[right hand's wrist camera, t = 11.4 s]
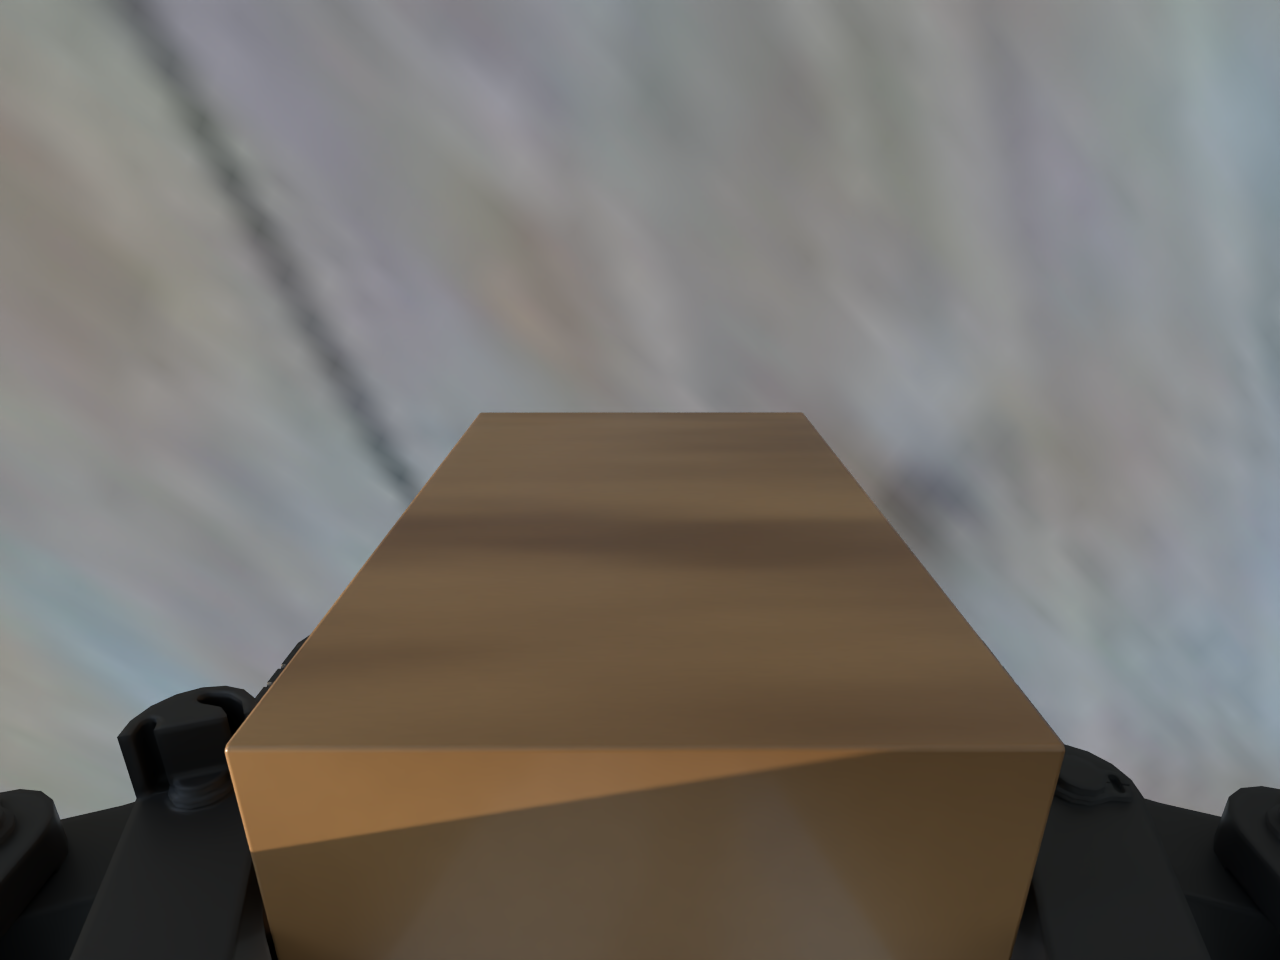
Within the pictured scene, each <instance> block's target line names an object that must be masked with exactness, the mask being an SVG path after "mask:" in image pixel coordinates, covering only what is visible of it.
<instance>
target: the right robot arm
mask: <svg viewBox="0 0 1280 960" xmlns="http://www.w3.org/2000/svg"><path fill="white" fill-rule="evenodd" d="M309 636H310V635H309ZM309 636H308V637H309ZM308 637H306V638H305V639H303V640H302V641H300V642H299V643H298V644H297V645H296V646H295V648H294V649H293V650H292V652H291V653H290V654H289V655H288V657H287V658H286V659H285V661H284V662H283V663H282V664H281V669H278V670H277V671H276V672H275V673H274V675H273V676H272V677H271V678H270V680H269V681H268V682H267V687H263V689H262V690H261V691H260V693H259V694H258V695H257V696H256V698H254V697H253V696H251V695H250V694H249V693H248V692H246V691H245V690H244V689H239V688H234V687H229V686H217V687H203V688H199V689H195V690H191V691H188V692H184V693H180V694H176V695H174V696H172V697H170V698H168V699H165V700H163V701H161V702H159V703H157V704H155V705H152V706H151V707H149V708H148V709H146V710H145V711H144V712H142V713H141V714H139V715H138V716H137V717H135V718H134V719H132V720H131V721H130V722H129V723H128V724H127V726H126V727H125V728H124V729H123V731H122V732H121V733H120V734H119V736H118V737H117V738H118V741H119V745H120V748H121V751H122V754H123V757H124V760H125V763H126V766H127V770H128V773H129V776H130V779H131V782H132V785H133V788H134V791H135V795H136V798H137V799H136V801H135V802H133V803H130V804H126V805H123V806H119V807H114V808H110V809H105V810H101V811H97V812H92V813H88V814H83V815H79V816H75V817H70V818H66V819H62V820H60V818H59V815H58V812H57V810H56V807H55V804H54V802H53V800H52V799H51V798H50V797H48V796H47V795H46V794H44V793H43V792H42V791H34V790H24V789H18V790H13V791H7V792H1V793H0V960H278V958H277V954H276V950H275V946H274V942H273V939H272V935H271V931H270V927H269V923H268V919H267V915H266V911H265V907H264V903H263V900H262V896H261V892H260V888H259V884H258V880H257V876H256V872H255V868H254V865H253V861H252V857H251V853H250V849H249V845H248V841H247V837H246V833H245V830H244V826H243V822H242V818H241V814H240V810H239V806H238V802H237V798H236V794H235V791H234V787H233V783H232V779H231V775H230V771H229V767H228V763H227V759H226V756H225V747H226V744H227V743H228V742H229V740H230V739H231V738H232V737H233V735H234V734H235V733H236V731H237V730H238V729H239V727H240V726H241V725H242V723H243V722H244V721H245V720H246V718H247V717H248V716H249V714H250V713H251V712H252V710H253V709H254V708H255V706H256V705H257V704H258V703H259V701H260V700H261V699H262V697H263V696H264V695H265V693H266V692H267V691H268V689H269V688H270V687H271V686H272V684H273V683H274V682H275V680H276V679H277V678H278V676H279V675H280V674H281V673H282V671H283V670H284V669H285V667H286V666H287V665H288V663H289V662H290V661H291V659H292V658H293V657H294V656H295V654H296V653H297V652H298V650H299V649H300V648H301V646H302V645H303V644H304V642H305V641H306V640H307V639H308ZM984 644H985V643H984ZM985 645H986V644H985ZM988 649H989V648H988ZM989 650H990V649H989ZM992 654H993V653H992ZM993 655H994V654H993ZM995 658H996V657H995ZM996 659H997V658H996ZM999 663H1000V662H999ZM1003 668H1004V667H1003ZM1004 669H1005V668H1004ZM1007 673H1008V672H1007ZM1010 677H1011V676H1010ZM1011 678H1012V677H1011ZM1018 687H1019V686H1018ZM1021 691H1022V690H1021ZM1022 692H1023V691H1022ZM1025 696H1026V695H1025ZM1026 697H1027V696H1026ZM1029 701H1030V700H1029ZM1033 706H1034V705H1033ZM1036 710H1037V709H1036ZM1037 711H1038V710H1037ZM1040 715H1041V714H1040ZM1044 720H1045V719H1044ZM1047 724H1048V723H1047ZM1048 725H1049V724H1048ZM1051 729H1052V728H1051ZM1055 734H1056V733H1055ZM1059 739H1060V738H1059ZM1062 743H1063V742H1062ZM1064 747H1065V754H1064V758H1063V762H1062V766H1061V770H1060V773H1059V777H1058V781H1057V785H1056V789H1055V793H1054V796H1053V800H1052V804H1051V808H1050V812H1049V815H1048V819H1047V823H1046V827H1045V831H1044V834H1043V838H1042V842H1041V846H1040V850H1039V853H1038V857H1037V861H1036V865H1035V869H1034V872H1033V876H1032V880H1031V884H1030V888H1029V892H1028V895H1027V899H1026V903H1025V907H1024V911H1023V914H1022V918H1021V922H1020V926H1019V930H1018V933H1017V937H1016V941H1015V945H1014V949H1013V952H1012V956H1011V960H1280V789H1275V788H1269V787H1264V786H1258V787H1248V788H1240V789H1239V790H1238V791H1236V792H1235V793H1234V794H1232V795H1231V796H1229V798H1228V801H1227V803H1226V806H1225V809H1224V811H1223V814H1222V817H1219V816H1215V815H1211V814H1206V813H1202V812H1197V811H1193V810H1189V809H1184V808H1180V807H1175V806H1171V805H1166V804H1162V803H1158V802H1155V801H1151V800H1148V799H1144V797H1143V796H1142V795H1141V793H1140V792H1139V790H1138V789H1137V787H1136V786H1135V784H1134V783H1133V781H1132V780H1131V779H1130V778H1128V777H1127V776H1126V775H1125V774H1123V773H1122V772H1121V771H1120V770H1119V769H1117V768H1116V767H1115V766H1114V765H1112V764H1111V763H1109V762H1107V761H1105V760H1103V759H1101V758H1099V757H1097V756H1095V755H1094V754H1092V753H1090V752H1088V751H1084V750H1081V749H1078V748H1074V747H1071V746H1068V745H1065V744H1064Z"/></svg>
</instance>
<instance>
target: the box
mask: <svg viewBox="0 0 1280 960" xmlns="http://www.w3.org/2000/svg"><path fill="white" fill-rule="evenodd" d="M1064 754H1065V747H1064V744H1063V743H1062V741H1061V740H1060V739H1059V737H1058V736H1057V735H1056V734H1055V732H1054V731H1053V730H1052V729H1051V727H1050V726H1049V725H1048V724H1047V722H1046V721H1045V720H1044V718H1043V717H1042V716H1041V715H1040V713H1039V712H1038V711H1037V710H1036V708H1035V707H1034V706H1033V704H1032V703H1031V702H1030V701H1029V699H1028V698H1027V697H1026V696H1025V694H1024V693H1023V692H1022V691H1021V689H1020V688H1019V687H1018V685H1017V684H1016V683H1015V682H1014V680H1013V679H1012V678H1011V677H1010V675H1009V674H1008V673H1007V671H1006V670H1005V669H1004V668H1003V666H1002V665H1001V664H1000V663H999V661H998V660H997V659H996V658H995V656H994V655H993V654H992V652H991V651H990V650H989V649H988V647H987V646H986V645H985V644H984V642H983V641H982V640H981V638H980V637H979V636H978V635H977V633H976V632H975V631H974V630H973V628H972V627H971V626H970V625H969V623H968V622H967V621H966V619H965V618H964V617H963V616H962V614H961V613H960V612H959V611H958V609H957V608H956V607H955V605H954V604H953V603H952V602H951V600H950V599H949V598H948V597H947V595H946V594H945V593H944V592H943V590H942V589H941V588H940V586H939V585H938V584H937V583H936V581H935V580H934V579H933V578H932V576H931V575H930V574H929V572H928V571H927V570H926V569H925V567H924V566H923V565H922V564H921V562H920V561H919V560H918V558H917V557H916V556H915V555H914V553H913V552H912V551H911V550H910V548H909V547H908V546H907V545H906V543H905V542H904V541H903V539H902V538H901V537H900V536H899V534H898V533H897V532H896V531H895V529H894V528H893V527H892V525H891V524H890V523H889V522H888V520H887V519H886V518H885V517H884V515H883V514H882V513H881V512H880V510H879V509H878V508H877V506H876V505H875V504H874V503H873V501H872V500H871V499H870V498H869V496H868V495H867V494H866V492H865V491H864V490H863V489H862V487H861V486H860V485H859V484H858V482H857V481H856V480H855V479H854V477H853V476H852V475H851V473H850V472H849V471H848V470H847V468H846V467H845V466H844V465H843V463H842V462H841V461H840V459H839V458H838V457H837V456H836V454H835V453H834V452H833V451H832V449H831V448H830V447H829V446H828V444H827V443H826V442H825V440H824V439H823V438H822V437H821V435H820V434H819V433H818V432H817V430H816V429H815V428H814V426H813V425H812V424H811V423H810V421H809V420H808V419H807V418H806V416H805V415H804V414H803V413H480V414H479V415H478V416H477V418H476V419H475V420H474V422H473V423H472V424H471V426H470V427H469V428H468V429H467V431H466V432H465V433H464V435H463V436H462V437H461V439H460V440H459V441H458V443H457V444H456V445H455V446H454V448H453V449H452V450H451V452H450V453H449V454H448V456H447V457H446V458H445V459H444V461H443V462H442V463H441V465H440V466H439V467H438V469H437V470H436V471H435V473H434V474H433V475H432V476H431V478H430V479H429V480H428V482H427V483H426V484H425V486H424V487H423V488H422V490H421V491H420V492H419V493H418V495H417V496H416V497H415V499H414V500H413V501H412V503H411V504H410V505H409V507H408V508H407V509H406V510H405V512H404V513H403V514H402V516H401V517H400V518H399V520H398V521H397V522H396V524H395V525H394V526H393V527H392V529H391V530H390V531H389V533H388V534H387V535H386V537H385V538H384V539H383V541H382V542H381V543H380V544H379V546H378V547H377V548H376V550H375V551H374V552H373V554H372V555H371V556H370V558H369V559H368V560H367V561H366V563H365V564H364V565H363V567H362V568H361V569H360V571H359V572H358V573H357V574H356V576H355V577H354V578H353V580H352V581H351V582H350V584H349V585H348V586H347V588H346V589H345V590H344V591H343V593H342V594H341V595H340V597H339V598H338V599H337V601H336V602H335V603H334V605H333V606H332V607H331V608H330V610H329V611H328V612H327V614H326V615H325V616H324V618H323V619H322V620H321V622H320V623H319V624H318V625H317V627H316V628H315V629H314V631H313V632H312V633H311V635H310V636H309V637H308V639H307V640H306V641H305V642H304V644H303V645H302V646H301V648H300V649H299V650H298V652H297V653H296V654H295V656H294V657H293V658H292V659H291V661H290V662H289V663H288V665H287V666H286V667H285V669H284V670H283V671H282V673H281V674H280V675H279V676H278V678H277V679H276V680H275V682H274V683H273V684H272V686H271V687H270V688H269V689H268V691H267V692H266V693H265V695H264V696H263V697H262V699H261V700H260V701H259V703H258V704H257V705H256V706H255V708H254V709H253V710H252V712H251V713H250V714H249V716H248V717H247V718H246V720H245V721H244V722H243V723H242V725H241V726H240V727H239V729H238V730H237V731H236V733H235V734H234V735H233V737H232V738H231V739H230V740H229V742H228V743H227V744H226V747H225V756H226V759H227V763H228V767H229V771H230V775H231V779H232V783H233V787H234V791H235V794H236V798H237V802H238V806H239V810H240V814H241V818H242V822H243V826H244V830H245V833H246V837H247V841H248V845H249V849H250V853H251V857H252V861H253V865H254V868H255V872H256V876H257V880H258V884H259V888H260V892H261V896H262V900H263V903H264V907H265V911H266V915H267V919H268V923H269V927H270V931H271V935H272V939H273V942H274V946H275V950H276V954H277V958H278V960H1011V956H1012V952H1013V949H1014V945H1015V941H1016V937H1017V933H1018V930H1019V926H1020V922H1021V918H1022V914H1023V911H1024V907H1025V903H1026V899H1027V895H1028V892H1029V888H1030V884H1031V880H1032V876H1033V872H1034V869H1035V865H1036V861H1037V857H1038V853H1039V850H1040V846H1041V842H1042V838H1043V834H1044V831H1045V827H1046V823H1047V819H1048V815H1049V812H1050V808H1051V804H1052V800H1053V796H1054V793H1055V789H1056V785H1057V781H1058V777H1059V773H1060V770H1061V766H1062V762H1063V758H1064Z"/></svg>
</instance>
